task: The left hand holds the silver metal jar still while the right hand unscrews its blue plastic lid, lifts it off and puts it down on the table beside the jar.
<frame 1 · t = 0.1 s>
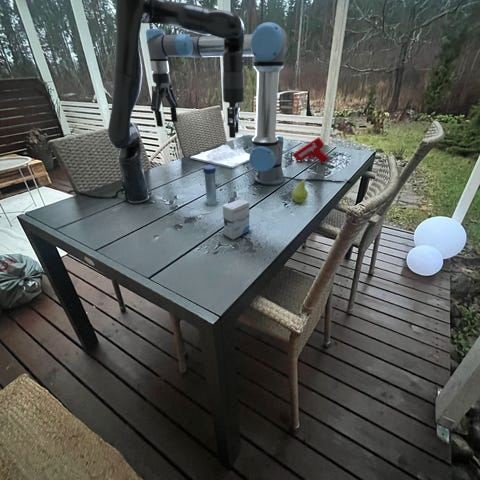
left hand: (234, 135, 104), 29 cm above the table, tool pointing down, fingers open, 8 cm apart
right hand: (167, 124, 132), 28 cm above the table, tool pointing down, fingers open, 13 cm apart
fruit: (299, 202, 122), on the table
ink box: (236, 233, 99), on the table
jar: (211, 203, 121), on the table
lid: (209, 168, 112), point 16 cm above the table, screwed on, not yet turned
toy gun: (309, 162, 171), on the table
relief map: (224, 158, 180), on the table
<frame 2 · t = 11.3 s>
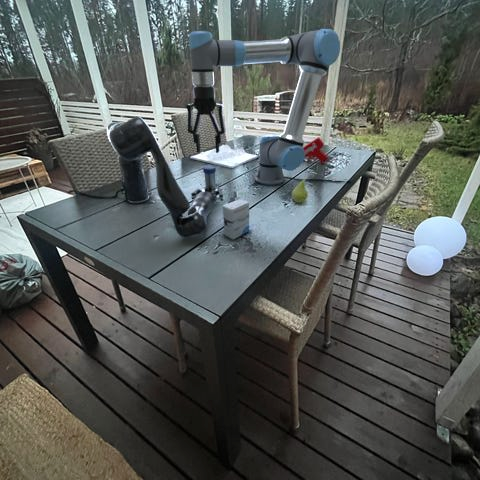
left hand: (212, 188, 120), 6 cm above the table, tool horizontal, fingers closed on jar, 4 cm apart
right hand: (208, 151, 109), 23 cm above the table, tool pointing down, fingers open, 7 cm apart
jar: (211, 203, 121), on the table, touching left hand
everything else where it was.
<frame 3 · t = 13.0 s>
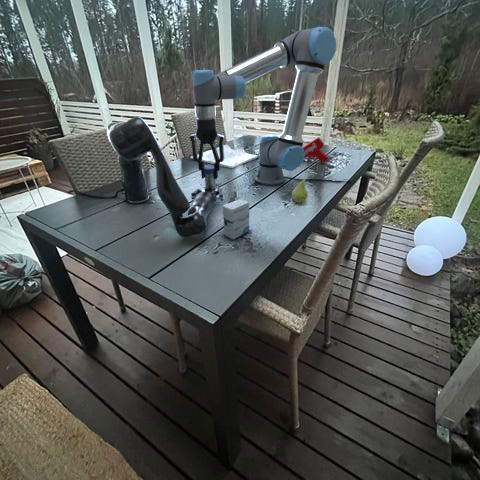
left hand: (212, 188, 120), 6 cm above the table, tool horizontal, fingers closed on jar, 4 cm apart
right hand: (209, 177, 115), 12 cm above the table, tool pointing down, fingers closed on lid, 5 cm apart
jar: (211, 203, 121), on the table, touching left hand
lid: (209, 168, 113), point 16 cm above the table, screwed on, not yet turned, touching right hand
everything else where it was.
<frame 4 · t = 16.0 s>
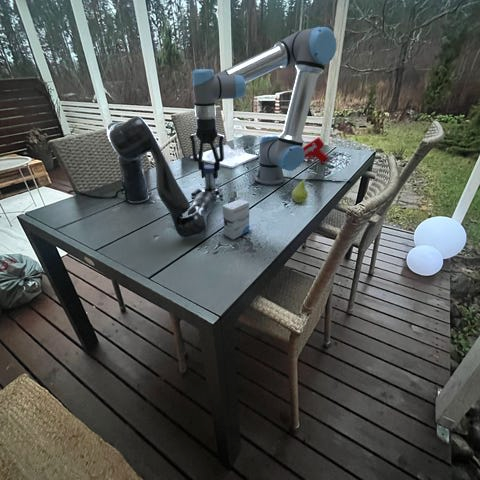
left hand: (212, 188, 120), 6 cm above the table, tool horizontal, fingers closed on jar, 4 cm apart
right hand: (209, 177, 115), 12 cm above the table, tool pointing down, fingers closed on lid, 5 cm apart
jar: (211, 203, 121), on the table, touching left hand
lid: (209, 167, 112), point 16 cm above the table, turned 61° so far, risen 0.2 cm, still on its thread, touching right hand
everything else where it was.
when the right hand's fingers open (0 cm above the table, at t = 22.0 s): lid drops 3 cm, point 2 cm above the table.
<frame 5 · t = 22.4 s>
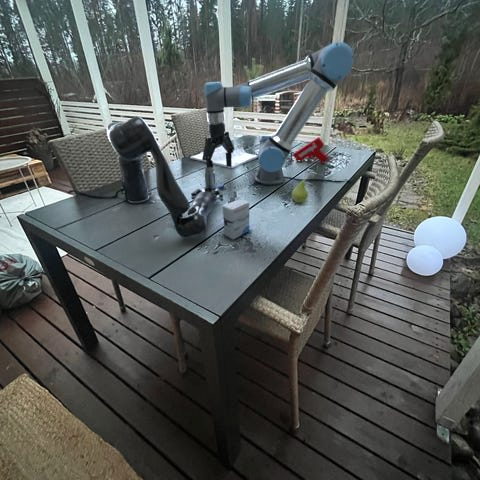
left hand: (212, 188, 120), 6 cm above the table, tool horizontal, fingers closed on jar, 4 cm apart
right hand: (220, 170, 130), 9 cm above the table, tool pointing down, fingers open, 13 cm apart
jar: (211, 203, 121), on the table, touching left hand
lid: (218, 185, 135), point 2 cm above the table, off its thread
everything else where it was.
when the left hand's fingers open (6 cm above the table, at t = 22.6 s): jar stays where it is, on the table.
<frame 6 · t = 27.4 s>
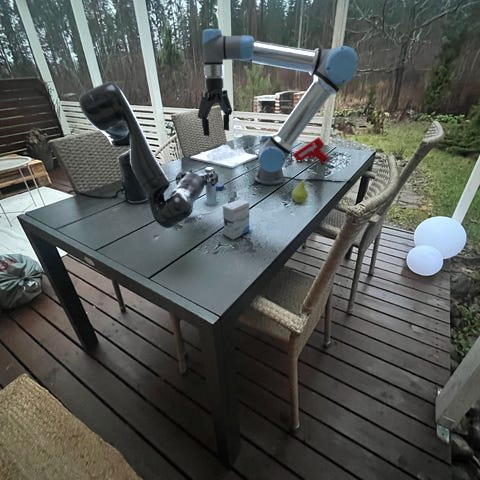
left hand: (202, 172, 101), 18 cm above the table, tool horizontal, fingers open, 8 cm apart
right hand: (216, 132, 121), 26 cm above the table, tool pointing down, fingers open, 13 cm apart
jar: (211, 203, 121), on the table
everything else where it was.
at the end: lid came off its thread; lid point 1.6 cm above the table; the left hand is holding nothing; the right hand is holding nothing; jar tilted 0°; jar moved 0.0 cm from its start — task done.
